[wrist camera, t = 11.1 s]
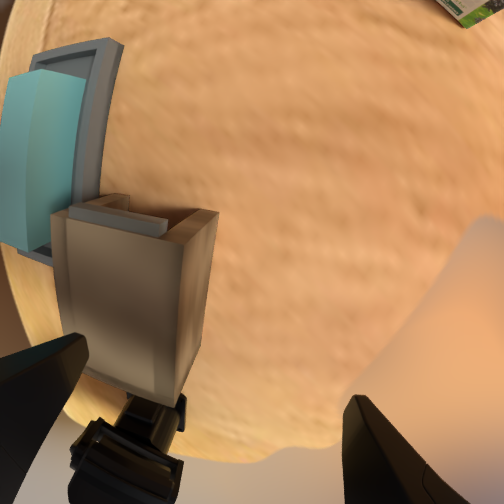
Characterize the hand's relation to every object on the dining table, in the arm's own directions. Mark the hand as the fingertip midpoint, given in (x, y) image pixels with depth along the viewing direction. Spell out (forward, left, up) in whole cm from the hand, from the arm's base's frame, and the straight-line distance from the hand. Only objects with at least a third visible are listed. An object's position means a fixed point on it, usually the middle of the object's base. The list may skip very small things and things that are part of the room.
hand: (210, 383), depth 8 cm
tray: (+5, +16, -12) cm, 21 cm away
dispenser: (-3, +7, -12) cm, 14 cm away
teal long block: (+5, +16, -11) cm, 20 cm away
